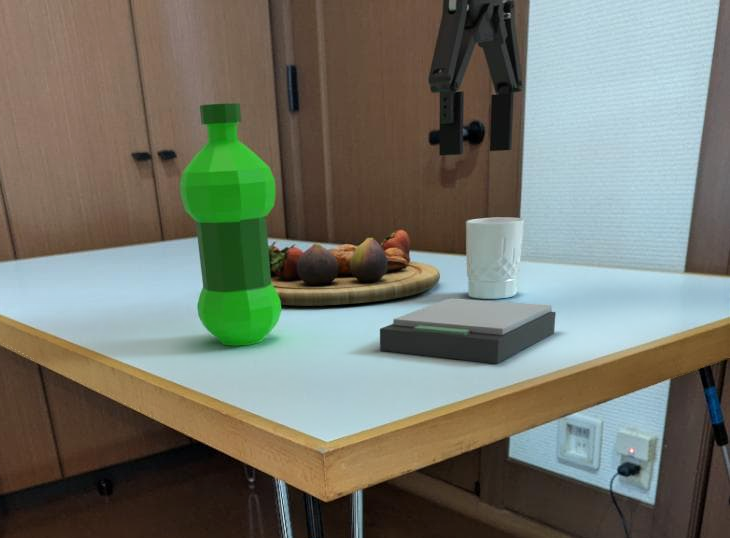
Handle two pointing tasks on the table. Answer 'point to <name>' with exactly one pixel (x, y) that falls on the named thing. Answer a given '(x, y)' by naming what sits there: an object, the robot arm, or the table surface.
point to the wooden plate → (349, 272)
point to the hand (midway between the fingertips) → (476, 153)
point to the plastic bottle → (231, 231)
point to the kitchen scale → (469, 330)
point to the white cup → (493, 256)
